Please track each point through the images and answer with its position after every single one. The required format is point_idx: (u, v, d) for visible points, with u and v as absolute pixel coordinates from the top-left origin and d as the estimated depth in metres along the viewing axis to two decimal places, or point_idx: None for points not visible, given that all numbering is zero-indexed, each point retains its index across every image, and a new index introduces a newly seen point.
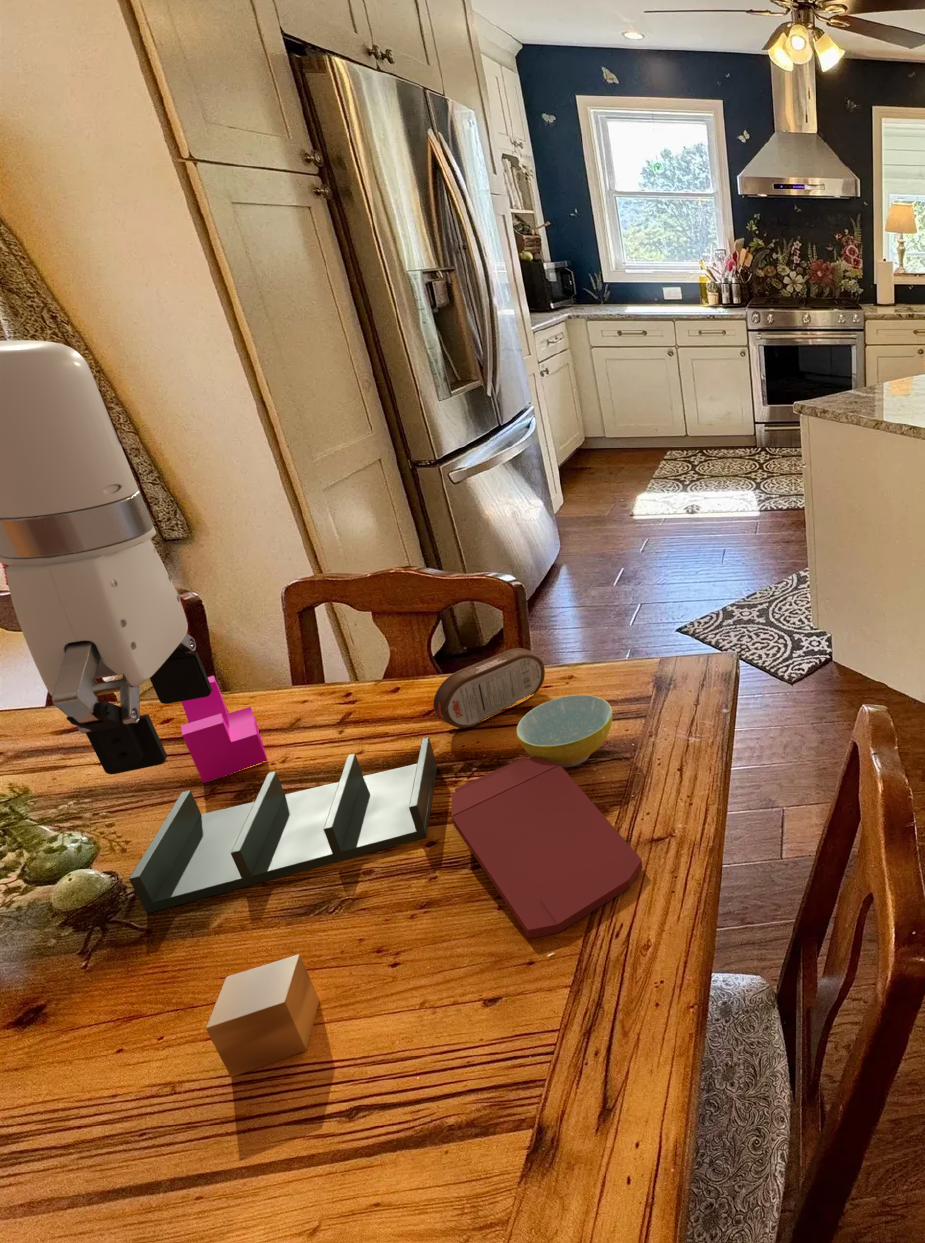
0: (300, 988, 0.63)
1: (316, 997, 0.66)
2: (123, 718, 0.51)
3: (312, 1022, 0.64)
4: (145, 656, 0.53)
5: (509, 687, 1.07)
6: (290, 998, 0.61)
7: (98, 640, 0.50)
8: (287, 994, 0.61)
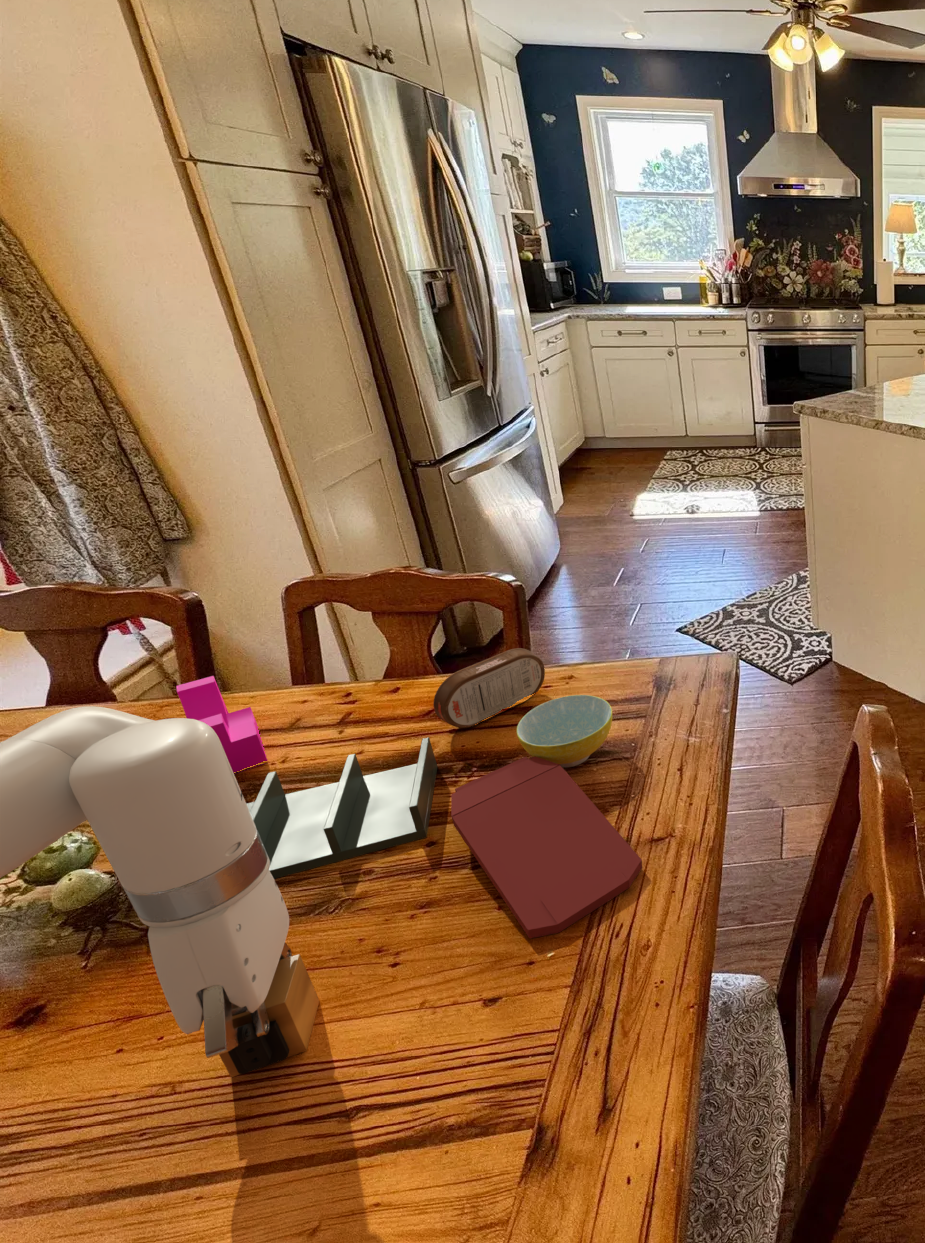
0: (300, 988, 0.63)
1: (316, 997, 0.66)
2: (257, 1033, 0.58)
3: (312, 1022, 0.64)
4: (262, 981, 0.58)
5: (509, 687, 1.07)
6: (290, 998, 0.61)
7: (225, 983, 0.55)
8: (288, 994, 0.61)
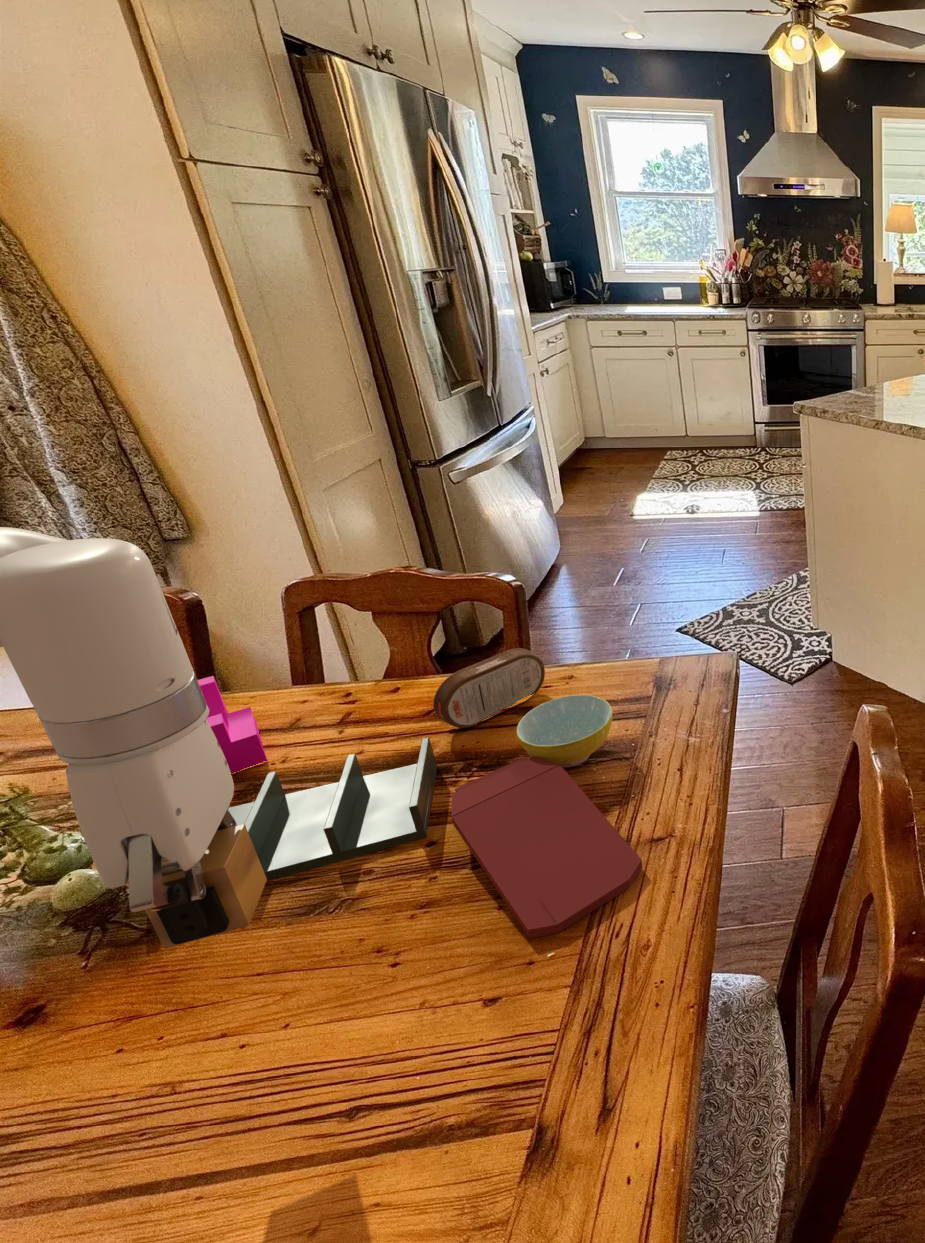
0: (244, 859, 0.58)
1: (263, 874, 0.61)
2: (192, 896, 0.53)
3: (257, 898, 0.59)
4: (197, 838, 0.53)
5: (509, 687, 1.07)
6: (232, 865, 0.56)
7: (154, 832, 0.50)
8: (228, 860, 0.56)
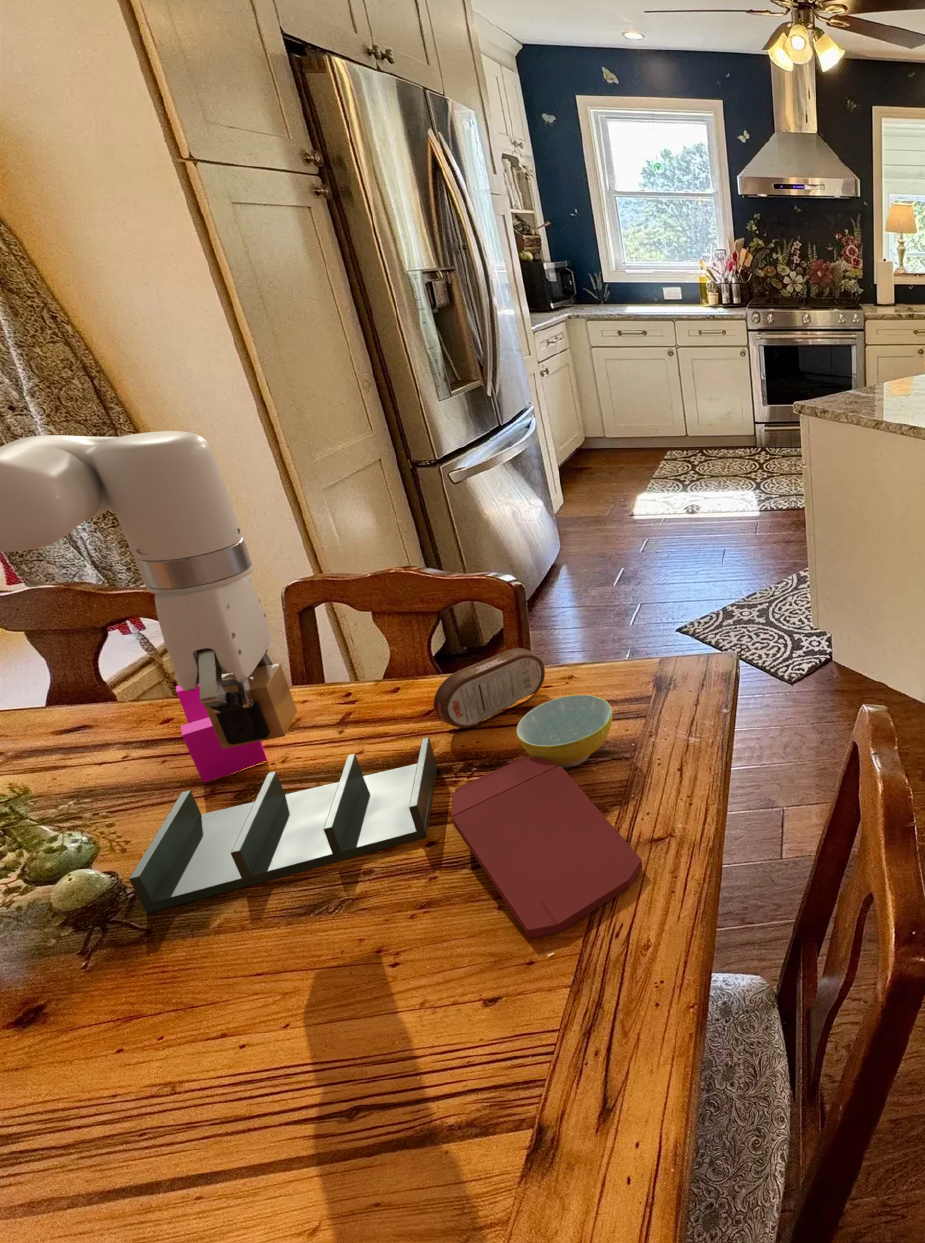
0: (280, 688, 0.76)
1: (294, 706, 0.79)
2: (243, 704, 0.71)
3: (290, 720, 0.77)
4: (247, 659, 0.71)
5: (509, 687, 1.07)
6: (271, 688, 0.74)
7: (216, 648, 0.68)
8: (269, 683, 0.74)
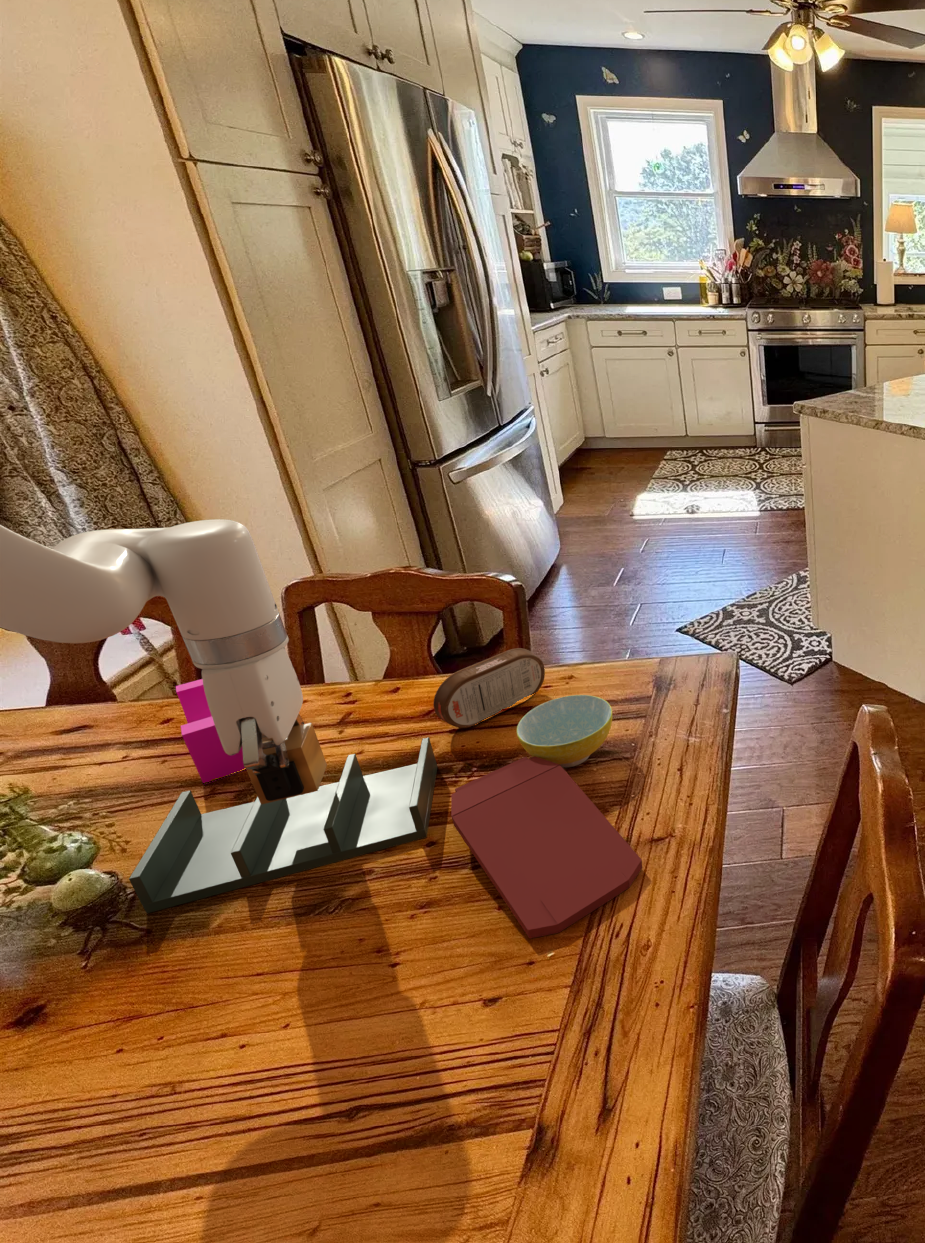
0: (312, 746, 0.83)
1: (324, 760, 0.85)
2: (280, 764, 0.78)
3: (321, 775, 0.84)
4: (284, 724, 0.77)
5: (509, 687, 1.07)
6: (305, 747, 0.81)
7: (257, 716, 0.74)
8: (303, 743, 0.80)
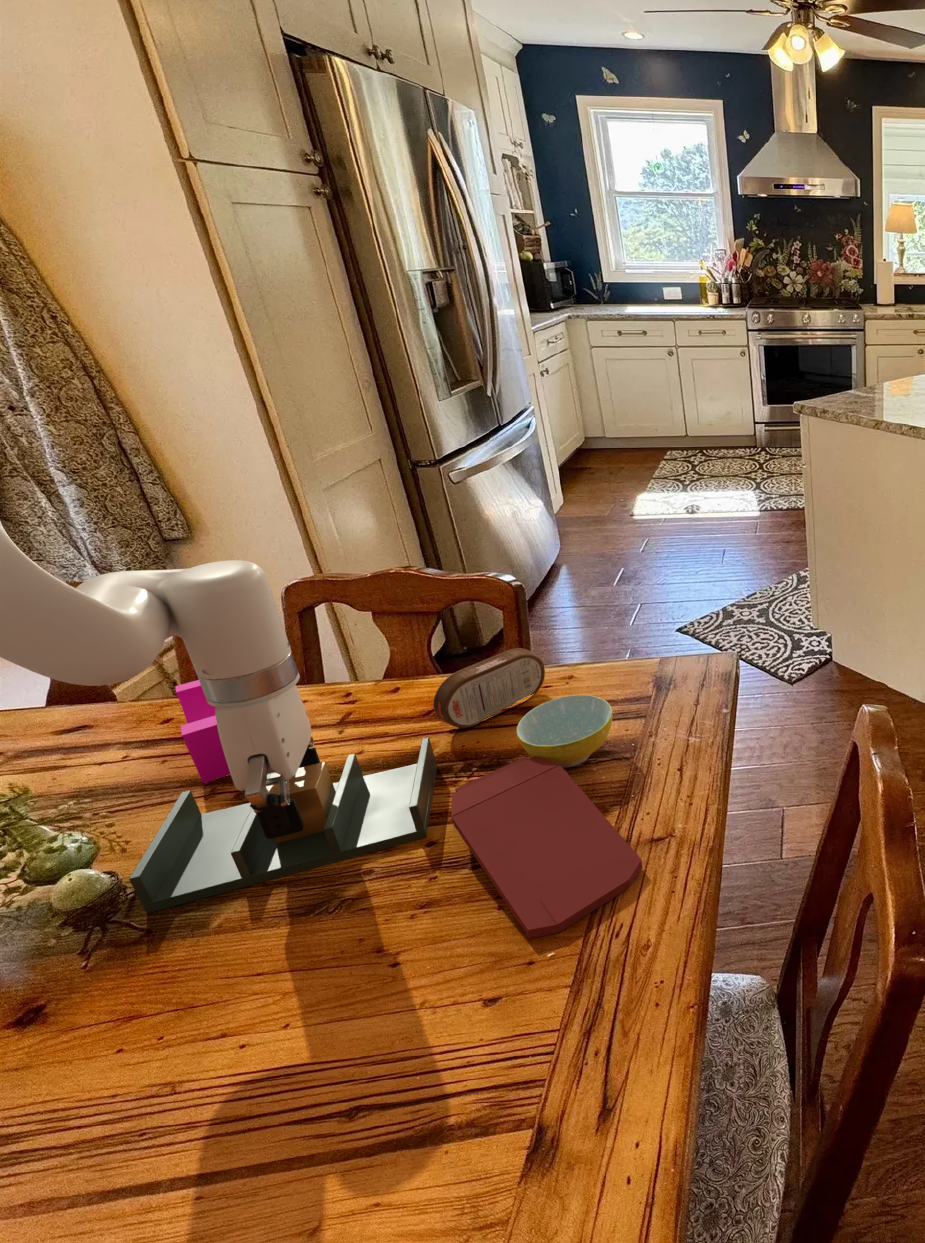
0: (326, 785, 0.85)
1: None
2: (281, 803, 0.77)
3: None
4: (293, 760, 0.79)
5: (509, 687, 1.07)
6: (319, 787, 0.83)
7: (268, 753, 0.76)
8: (317, 783, 0.82)
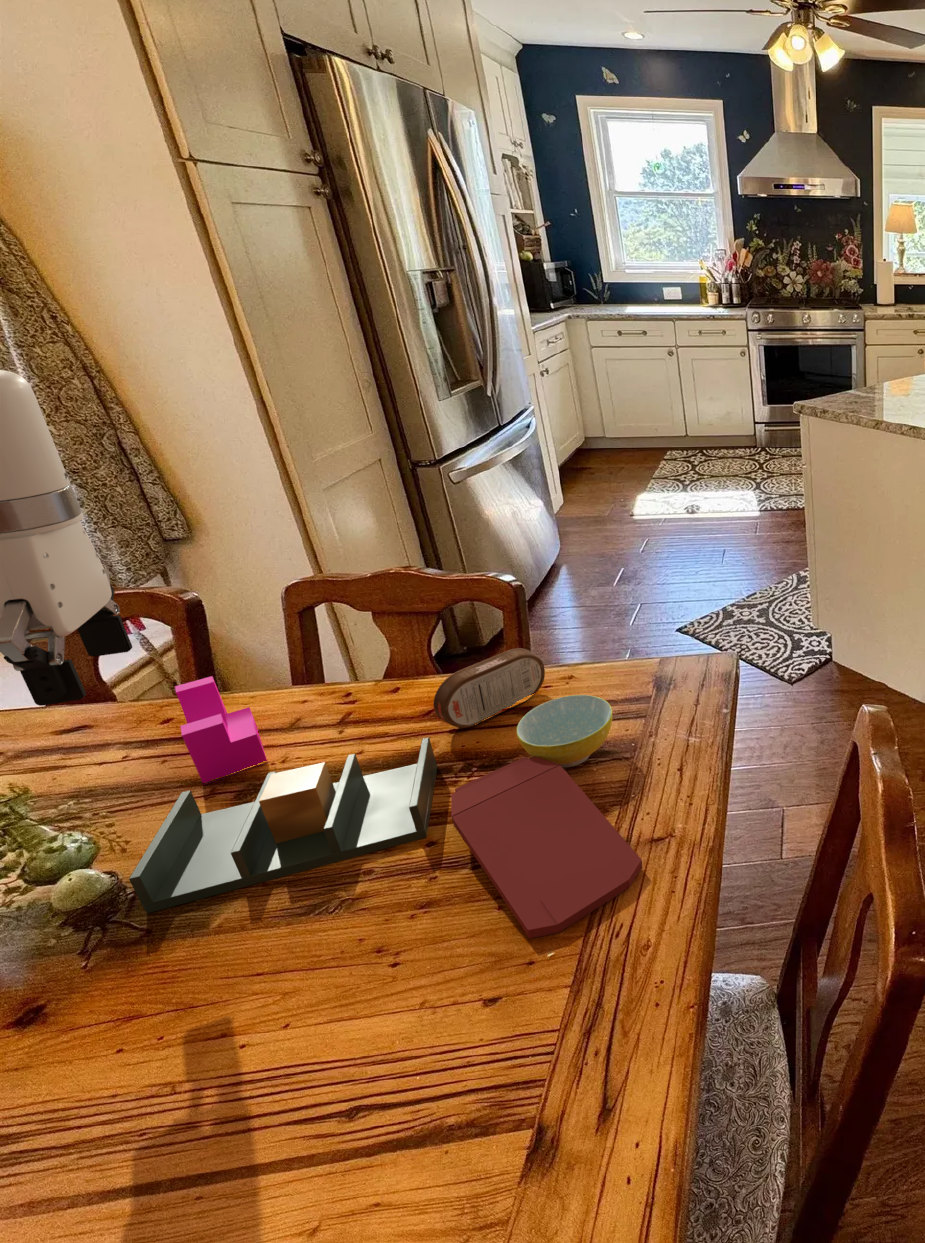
0: (326, 785, 0.85)
1: None
2: (49, 660, 0.66)
3: None
4: (70, 613, 0.67)
5: (509, 687, 1.07)
6: (319, 787, 0.83)
7: (31, 599, 0.65)
8: (317, 783, 0.82)
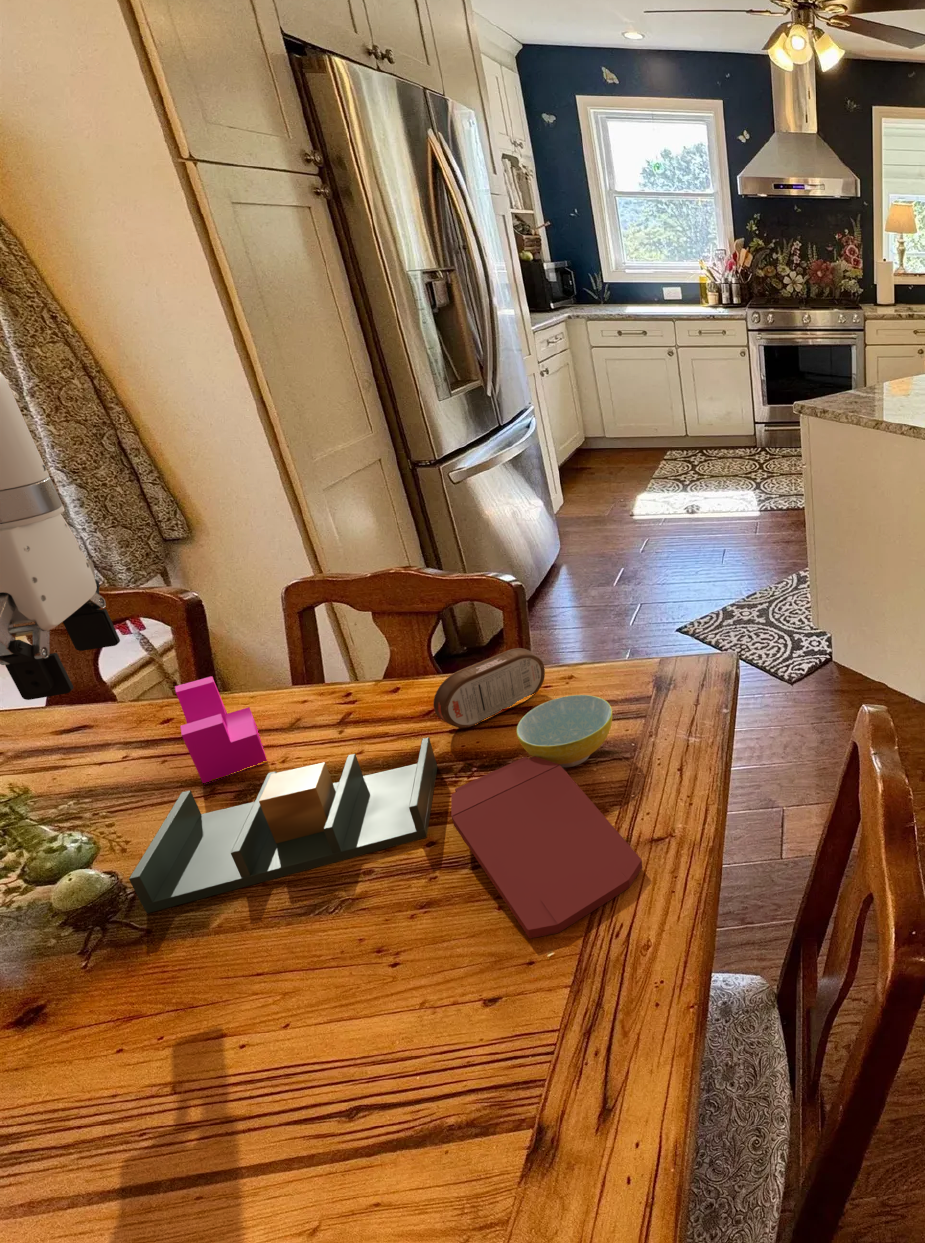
0: (326, 785, 0.85)
1: None
2: (34, 654, 0.65)
3: None
4: (54, 607, 0.67)
5: (509, 687, 1.07)
6: (319, 787, 0.83)
7: (13, 592, 0.64)
8: (317, 783, 0.82)
